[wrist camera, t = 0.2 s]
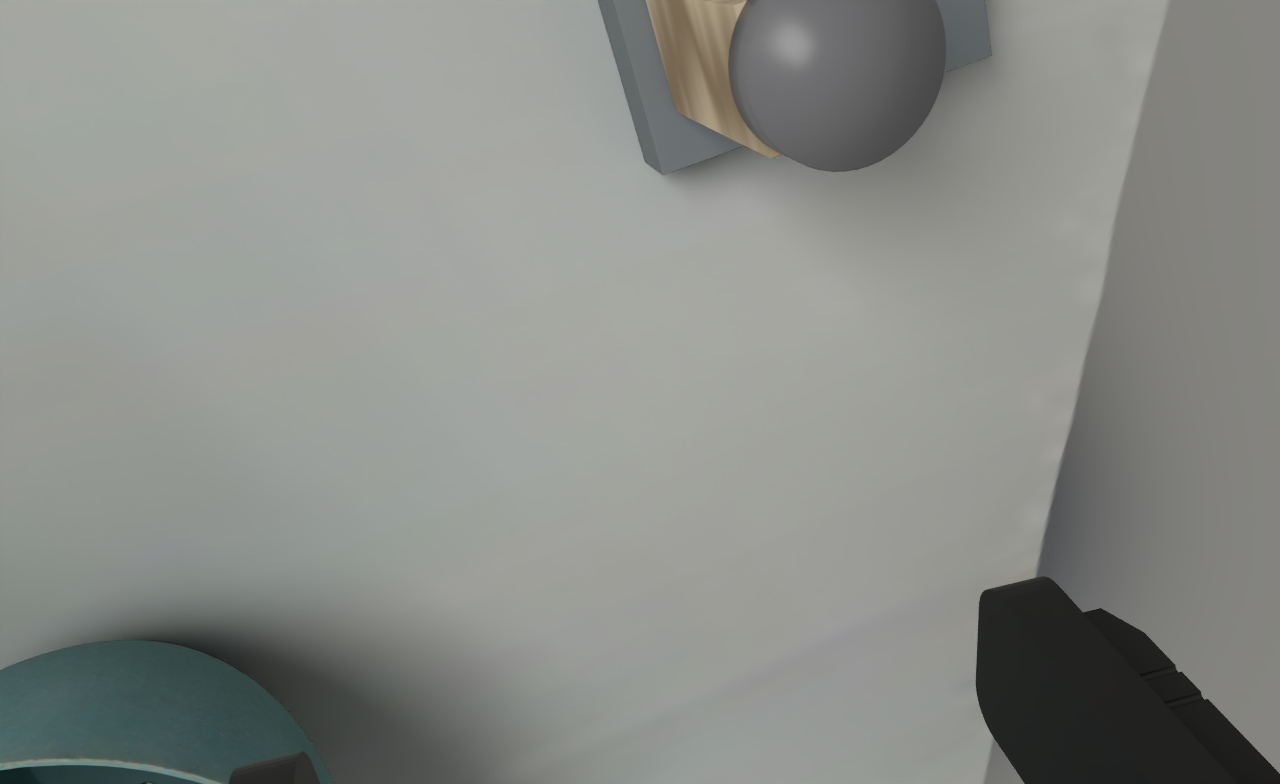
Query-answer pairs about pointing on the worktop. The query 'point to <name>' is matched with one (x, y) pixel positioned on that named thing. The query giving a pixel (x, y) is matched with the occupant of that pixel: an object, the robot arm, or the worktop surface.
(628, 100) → the slider board
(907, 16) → the knob
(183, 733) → the teal round bowl
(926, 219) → the worktop surface
